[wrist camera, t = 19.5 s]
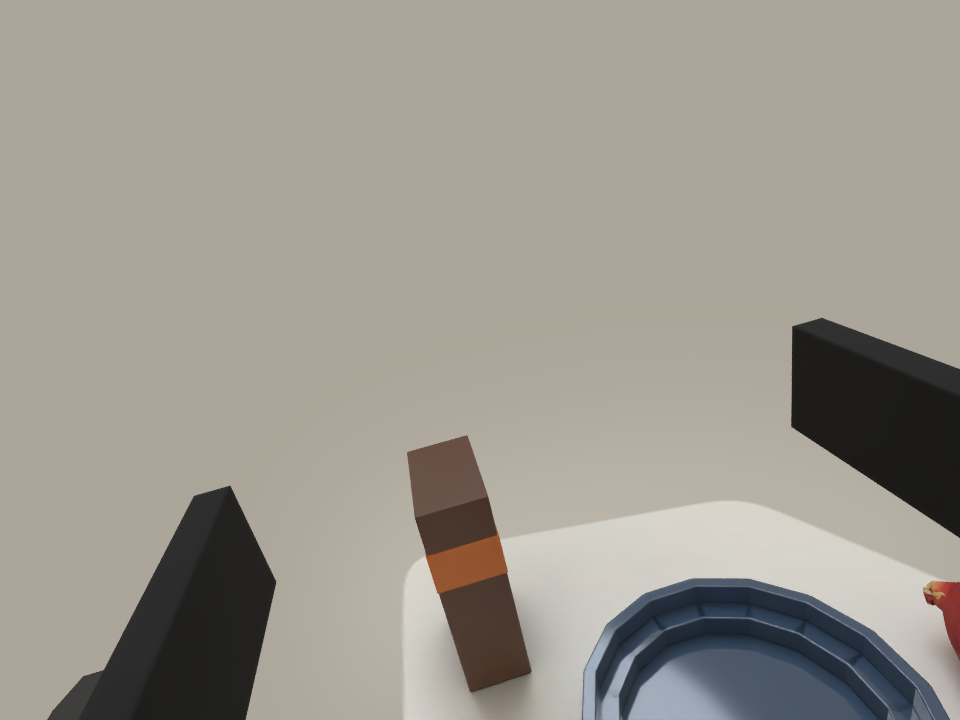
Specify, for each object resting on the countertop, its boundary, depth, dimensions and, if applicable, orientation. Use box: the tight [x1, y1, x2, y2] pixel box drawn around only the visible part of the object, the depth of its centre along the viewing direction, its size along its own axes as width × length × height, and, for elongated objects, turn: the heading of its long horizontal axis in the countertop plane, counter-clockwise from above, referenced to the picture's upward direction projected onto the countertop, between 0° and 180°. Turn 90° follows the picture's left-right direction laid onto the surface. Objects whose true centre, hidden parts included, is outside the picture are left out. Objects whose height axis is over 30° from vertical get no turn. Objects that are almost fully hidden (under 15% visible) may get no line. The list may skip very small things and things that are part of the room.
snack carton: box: [407, 436, 531, 692], centre depth 30 cm, size 4×6×12 cm, turn 11°
